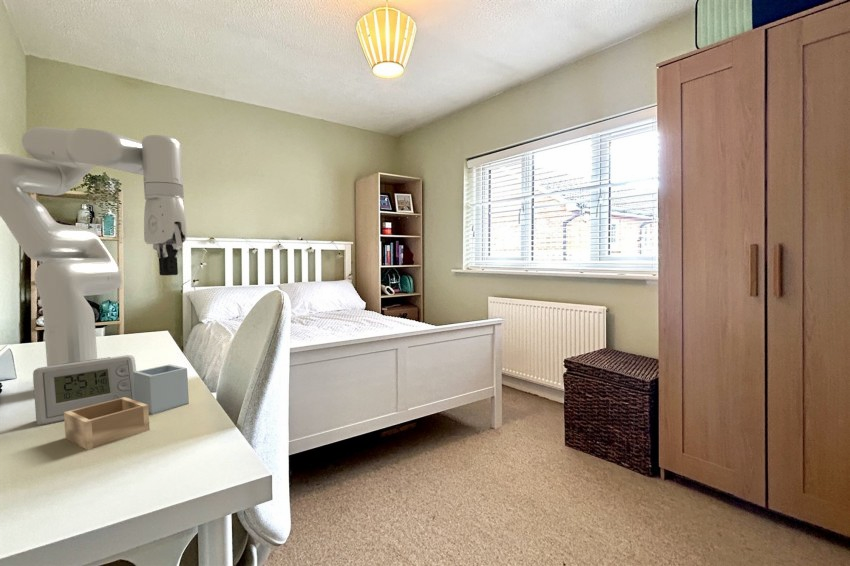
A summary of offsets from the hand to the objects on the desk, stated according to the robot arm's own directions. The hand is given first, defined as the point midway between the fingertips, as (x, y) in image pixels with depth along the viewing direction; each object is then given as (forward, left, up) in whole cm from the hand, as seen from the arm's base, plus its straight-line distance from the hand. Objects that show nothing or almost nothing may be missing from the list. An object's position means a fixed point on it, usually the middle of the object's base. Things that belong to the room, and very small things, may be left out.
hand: (168, 275), depth 96 cm
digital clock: (0, -16, -27) cm, 32 cm away
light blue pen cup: (+9, -7, -27) cm, 29 cm away
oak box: (+16, -19, -27) cm, 37 cm away
